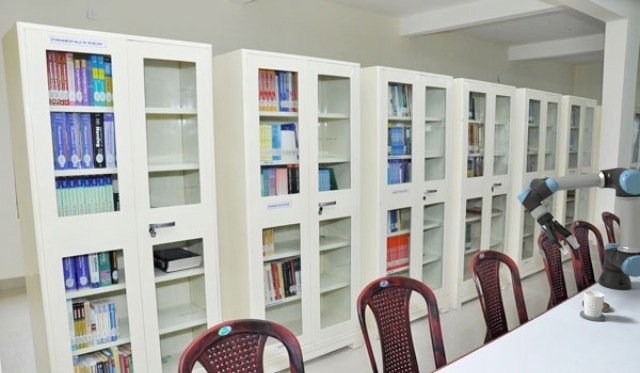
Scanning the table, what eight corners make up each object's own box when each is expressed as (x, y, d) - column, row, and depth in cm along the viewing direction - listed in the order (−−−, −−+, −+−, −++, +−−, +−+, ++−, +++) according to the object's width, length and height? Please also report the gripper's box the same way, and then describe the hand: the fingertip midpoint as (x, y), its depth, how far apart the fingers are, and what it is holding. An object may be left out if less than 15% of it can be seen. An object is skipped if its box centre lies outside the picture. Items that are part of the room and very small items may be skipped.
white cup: (597, 311, 216) (599, 290, 215) (605, 318, 209) (607, 297, 207) (579, 310, 217) (581, 290, 216) (587, 317, 209) (588, 296, 208)
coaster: (584, 310, 220) (585, 308, 220) (608, 317, 212) (608, 315, 212) (576, 316, 213) (576, 314, 213) (600, 323, 206) (600, 321, 206)
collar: (587, 301, 231) (588, 297, 231) (612, 308, 223) (613, 304, 223) (578, 307, 224) (579, 303, 224) (604, 314, 216) (604, 310, 216)
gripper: (546, 216, 248) (575, 249, 239) (525, 224, 231) (556, 259, 222) (557, 207, 243) (587, 241, 234) (537, 215, 226) (568, 251, 218)
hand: (572, 250), depth 228 cm, fingers open, 13 cm apart
